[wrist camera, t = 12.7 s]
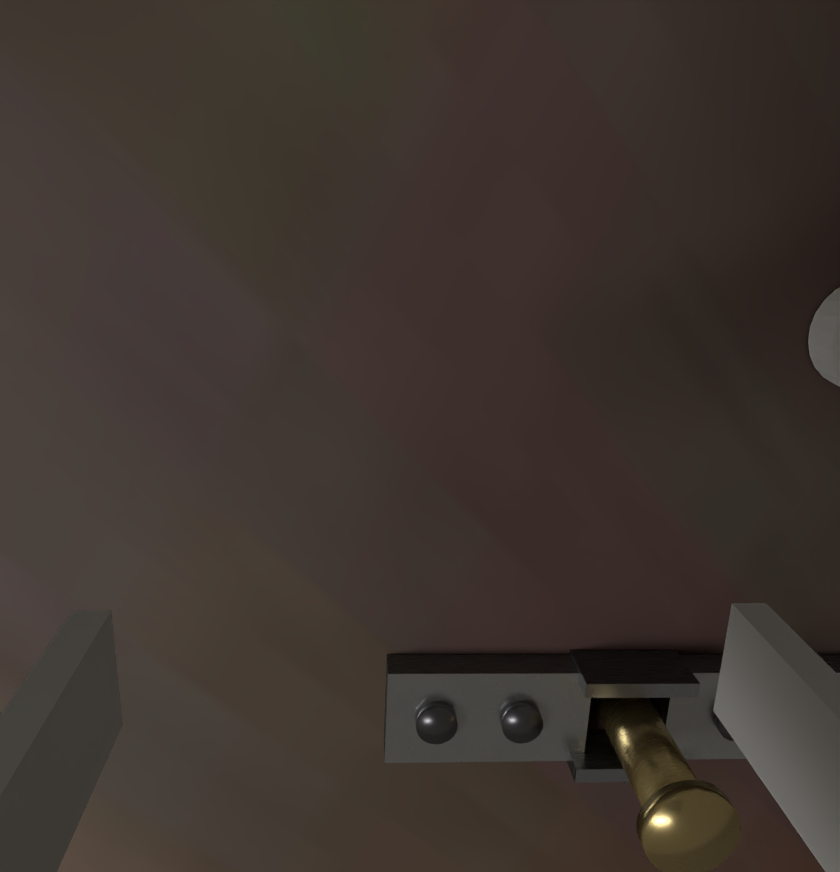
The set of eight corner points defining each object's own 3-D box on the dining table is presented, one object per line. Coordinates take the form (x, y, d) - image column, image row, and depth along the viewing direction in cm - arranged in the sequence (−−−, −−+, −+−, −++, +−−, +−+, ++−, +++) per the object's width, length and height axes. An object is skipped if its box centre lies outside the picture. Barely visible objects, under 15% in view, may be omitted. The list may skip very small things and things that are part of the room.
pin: (584, 663, 46) (650, 795, 35) (661, 664, 46) (748, 794, 36) (576, 730, 47) (637, 877, 37) (650, 730, 48) (732, 875, 37)
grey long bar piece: (383, 744, 47) (385, 785, 43) (386, 650, 45) (388, 684, 41) (828, 740, 49) (862, 778, 46) (848, 650, 47) (885, 683, 44)
